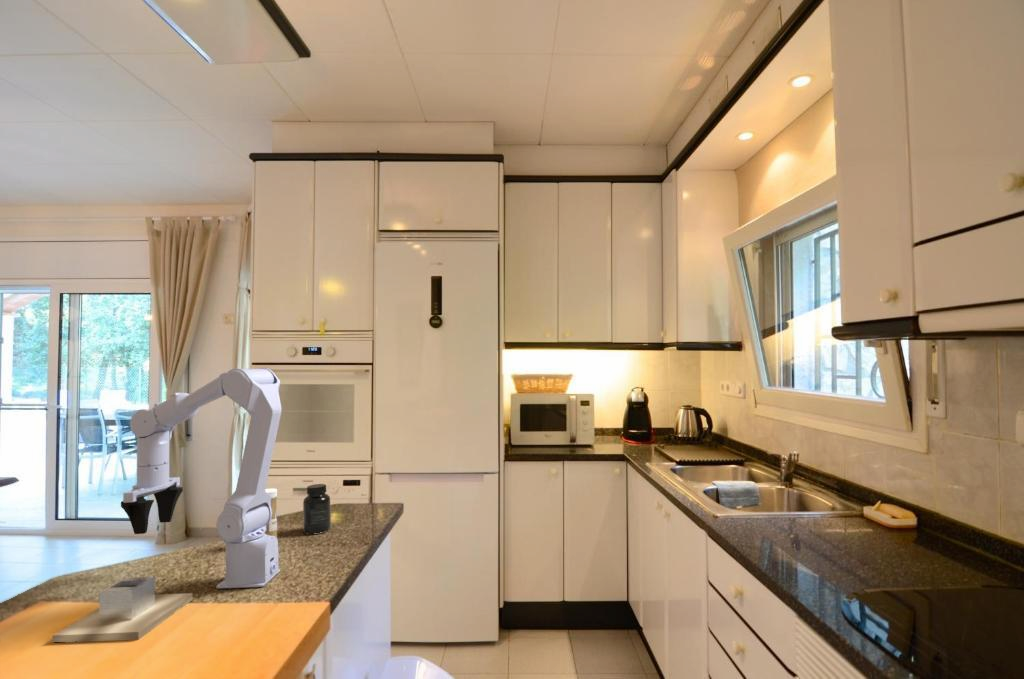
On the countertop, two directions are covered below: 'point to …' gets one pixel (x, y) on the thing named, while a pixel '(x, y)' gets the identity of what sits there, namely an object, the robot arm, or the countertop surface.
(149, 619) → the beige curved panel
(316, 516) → the supplement bottle
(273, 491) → the sprinkles bottle
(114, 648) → the countertop surface
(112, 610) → the hollow square tube
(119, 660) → the countertop surface
